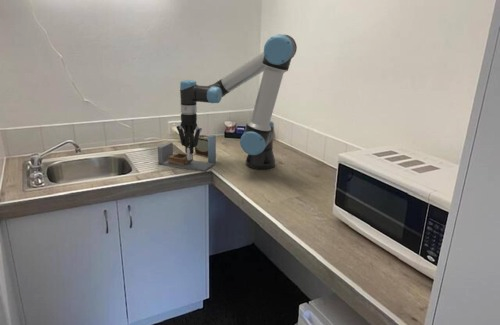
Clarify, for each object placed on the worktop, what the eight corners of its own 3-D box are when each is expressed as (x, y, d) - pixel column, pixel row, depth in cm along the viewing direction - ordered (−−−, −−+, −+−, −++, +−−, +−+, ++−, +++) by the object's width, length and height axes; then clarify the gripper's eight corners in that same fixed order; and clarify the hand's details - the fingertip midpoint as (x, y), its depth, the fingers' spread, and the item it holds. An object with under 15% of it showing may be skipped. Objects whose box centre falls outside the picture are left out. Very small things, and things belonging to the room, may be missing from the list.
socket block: (177, 157, 197) (177, 152, 196) (192, 160, 194) (192, 154, 193) (168, 162, 189) (167, 157, 188) (183, 165, 186) (183, 159, 185)
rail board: (169, 158, 199) (168, 141, 196) (213, 165, 191) (213, 148, 188) (158, 164, 190) (157, 147, 187) (204, 171, 182) (204, 154, 179)
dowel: (210, 160, 198) (210, 134, 193) (217, 161, 197) (217, 135, 192) (206, 162, 194) (206, 136, 190) (213, 164, 193) (213, 137, 188)
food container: (217, 155, 207) (217, 137, 204) (211, 157, 202) (210, 139, 199) (200, 150, 213) (200, 133, 210) (193, 153, 208) (192, 135, 205)
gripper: (172, 113, 180) (174, 159, 188) (197, 116, 176) (197, 163, 184) (180, 110, 186) (182, 155, 194) (204, 113, 182) (204, 159, 190)
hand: (189, 159), depth 189 cm, fingers closed
